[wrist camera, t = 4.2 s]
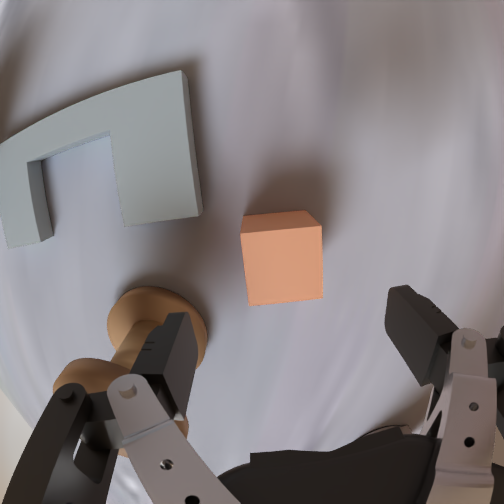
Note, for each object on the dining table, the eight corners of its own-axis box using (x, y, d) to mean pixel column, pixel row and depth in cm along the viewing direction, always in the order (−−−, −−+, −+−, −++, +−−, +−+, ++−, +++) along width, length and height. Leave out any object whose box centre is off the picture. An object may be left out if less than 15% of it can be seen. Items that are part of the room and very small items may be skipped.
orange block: (305, 209, 20) (321, 225, 15) (307, 267, 21) (322, 298, 16) (243, 215, 20) (240, 233, 15) (249, 273, 21) (249, 306, 17)
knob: (196, 282, 21) (155, 382, 11) (216, 367, 24) (201, 467, 14) (101, 289, 22) (30, 365, 11) (131, 366, 25) (92, 449, 14)
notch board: (187, 78, 16) (181, 70, 15) (203, 210, 20) (198, 216, 18) (5, 148, 17) (-8, 149, 15) (20, 243, 20) (8, 249, 18)
